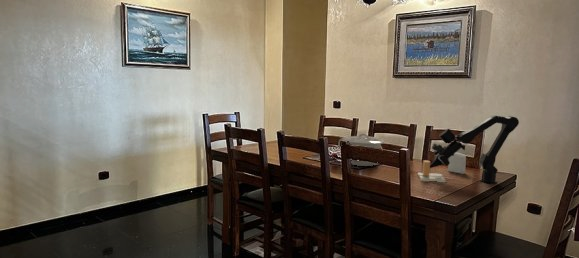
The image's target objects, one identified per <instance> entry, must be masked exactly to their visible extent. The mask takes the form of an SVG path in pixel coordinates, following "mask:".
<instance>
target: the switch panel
mask: <svg viewBox="0 0 579 258" xmlns="http://www.w3.org/2000/svg"><path fill="white" fill-rule="evenodd" d="M417 177H418V179H419V180H420V181H421V182H429V181H437V182H436V183H446V179H445V177H444V176H443V174H441V173H433V172H431V173H430V172H429V176H424V175H423V172H417Z"/></svg>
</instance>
